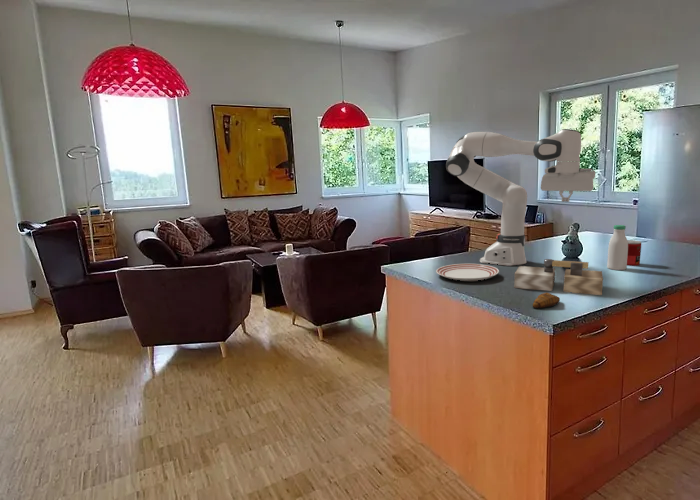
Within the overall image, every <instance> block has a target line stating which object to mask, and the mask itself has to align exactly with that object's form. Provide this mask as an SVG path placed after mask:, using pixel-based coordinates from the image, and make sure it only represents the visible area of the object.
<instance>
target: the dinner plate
mask: <svg viewBox="0 0 700 500" xmlns="http://www.w3.org/2000/svg"><path fill="white" fill-rule="evenodd" d="M435 272H436V274H438V275H440V276H441V277H444V278H446V279H449V280H452V279H453V280H452V281H457V280H460V281H459V282H479V281H478V280H481V281H484V279H485V280H487V279H491V278H493V277H495V276H497V275H498V274H499V273H500V270H499V269H498V267H496V266H492V265H489V264H483V263H482V264H481V263H453V264H448V265H442V266H440V267H438V268H437V269H436V270H435Z"/></svg>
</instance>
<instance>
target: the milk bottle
mask: <svg viewBox="0 0 700 500" xmlns="http://www.w3.org/2000/svg"><path fill="white" fill-rule="evenodd" d="M626 227H627V226H626V225H625V224H615V225H613V234H612V235H611V237H610V239H609V243H608V247H607V249H608V250H607V263H606V266H607V267H606V268H607V269H609V270H614V271H615V270H616V271H624V270H625V271H626V269H627V267H628V265H627V255H628V241H627V240H628V239H627V236H626V233H625V231H626Z"/></svg>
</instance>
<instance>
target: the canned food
mask: <svg viewBox="0 0 700 500" xmlns="http://www.w3.org/2000/svg"><path fill="white" fill-rule="evenodd" d="M627 241H628V255H627V267H628V266H629V267H630V266H631V267H635V266H640V263H641V256H642V255H641V253H642V241H641V240H632V239H627Z"/></svg>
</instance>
